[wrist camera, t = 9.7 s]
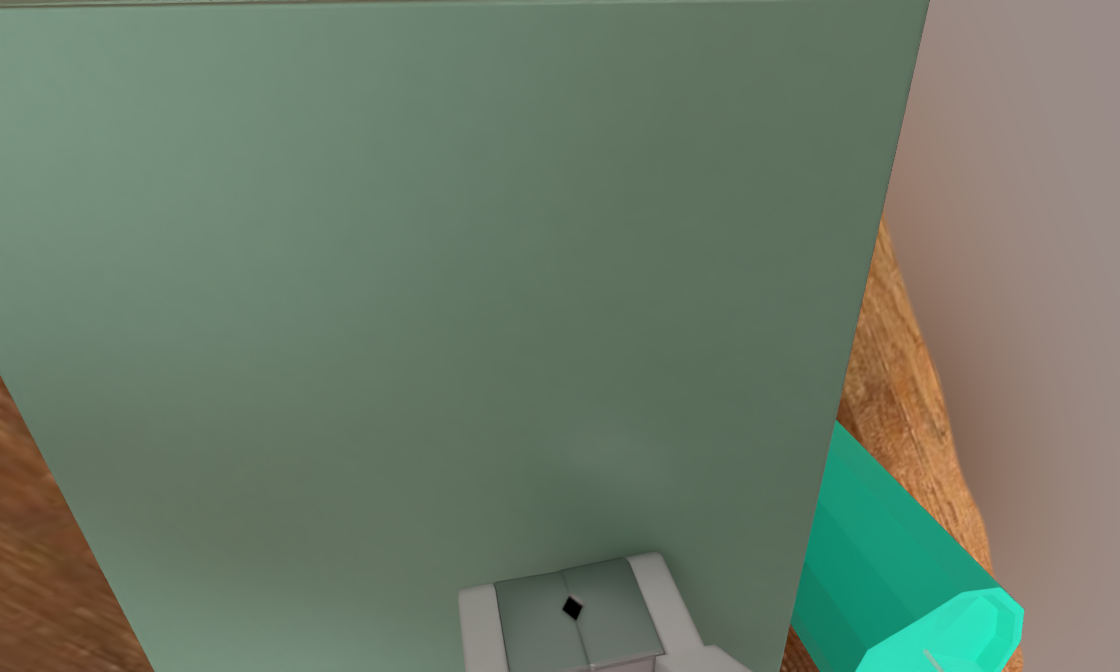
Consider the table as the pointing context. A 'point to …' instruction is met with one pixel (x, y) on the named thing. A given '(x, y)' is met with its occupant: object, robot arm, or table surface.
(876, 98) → the lid
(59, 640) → the table surface
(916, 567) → the candle
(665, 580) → the robot arm
